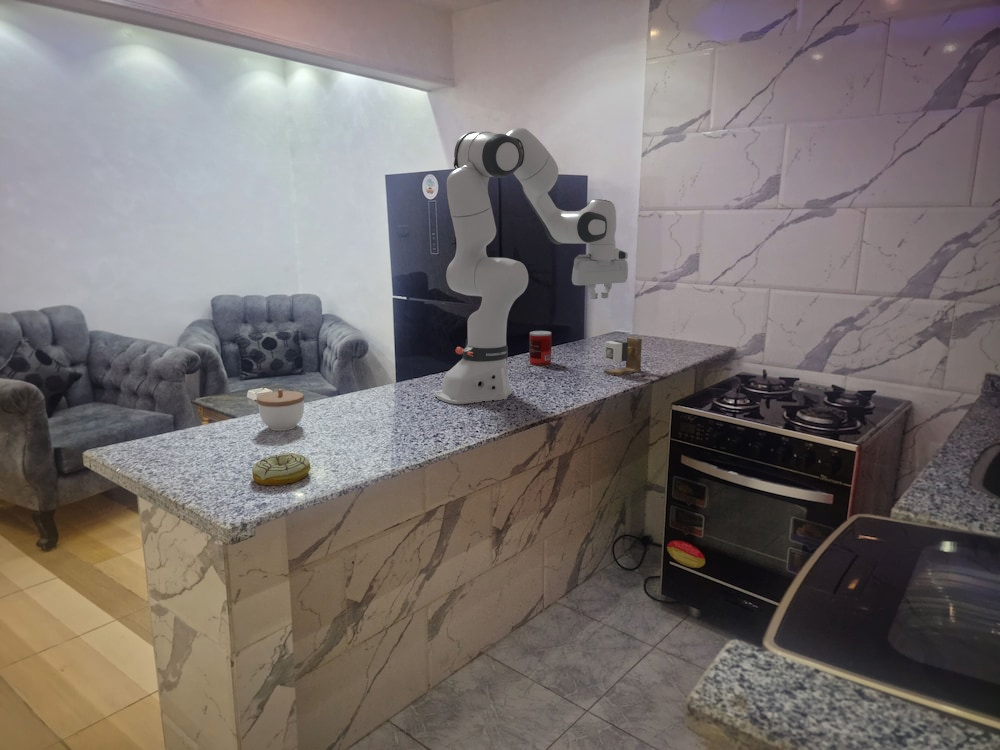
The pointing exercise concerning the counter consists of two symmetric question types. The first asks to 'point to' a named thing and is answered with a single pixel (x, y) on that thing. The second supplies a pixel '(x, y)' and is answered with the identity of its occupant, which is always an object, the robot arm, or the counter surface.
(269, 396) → the lidded jar
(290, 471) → the decorated donut
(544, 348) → the canned food
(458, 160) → the robot arm
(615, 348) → the sleeve
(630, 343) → the pipe stand
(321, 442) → the counter surface
